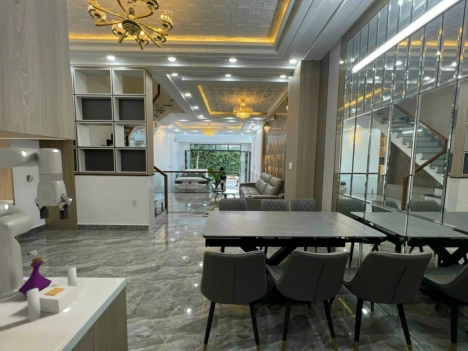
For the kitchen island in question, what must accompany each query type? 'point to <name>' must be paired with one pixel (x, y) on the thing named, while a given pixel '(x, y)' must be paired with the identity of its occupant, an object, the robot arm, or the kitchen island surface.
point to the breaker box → (57, 298)
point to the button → (54, 291)
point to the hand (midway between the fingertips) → (54, 218)
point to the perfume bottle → (35, 276)
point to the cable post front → (33, 304)
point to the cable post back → (72, 277)
